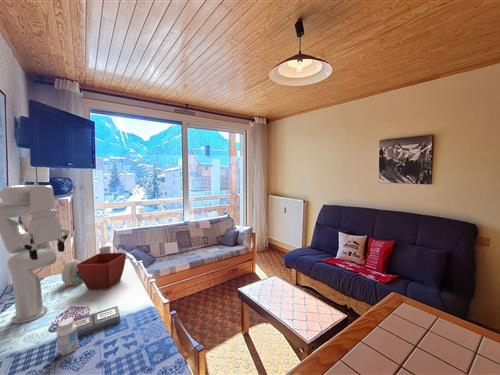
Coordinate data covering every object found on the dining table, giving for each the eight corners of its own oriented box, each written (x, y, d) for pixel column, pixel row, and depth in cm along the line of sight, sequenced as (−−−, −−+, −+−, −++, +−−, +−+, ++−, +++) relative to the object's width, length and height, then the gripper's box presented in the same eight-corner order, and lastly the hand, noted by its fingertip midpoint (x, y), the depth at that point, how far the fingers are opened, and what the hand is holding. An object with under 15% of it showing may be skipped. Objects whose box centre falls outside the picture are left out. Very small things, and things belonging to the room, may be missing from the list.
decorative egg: (76, 287, 141) (74, 263, 140) (57, 287, 142) (55, 263, 141) (91, 278, 153) (89, 256, 152) (73, 278, 154) (71, 256, 153)
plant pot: (100, 277, 153) (98, 253, 152) (128, 277, 153) (126, 252, 151) (78, 292, 134) (75, 264, 133) (110, 292, 134) (107, 263, 132)
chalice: (109, 270, 165) (107, 245, 164) (114, 272, 161) (112, 247, 160) (98, 274, 159) (96, 248, 157) (103, 276, 155) (101, 250, 154)
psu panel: (64, 341, 94) (64, 333, 94) (66, 329, 102) (65, 321, 102) (120, 321, 106) (120, 314, 106) (117, 311, 114) (117, 305, 114)
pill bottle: (75, 341, 94) (73, 314, 94) (80, 348, 91) (77, 320, 90) (56, 350, 90) (54, 322, 89) (60, 358, 86) (58, 329, 85)
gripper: (61, 211, 106) (65, 248, 107) (11, 219, 90) (16, 262, 91) (72, 211, 103) (76, 249, 104) (23, 219, 87) (28, 263, 88)
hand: (48, 255), depth 97 cm, fingers open, 9 cm apart
